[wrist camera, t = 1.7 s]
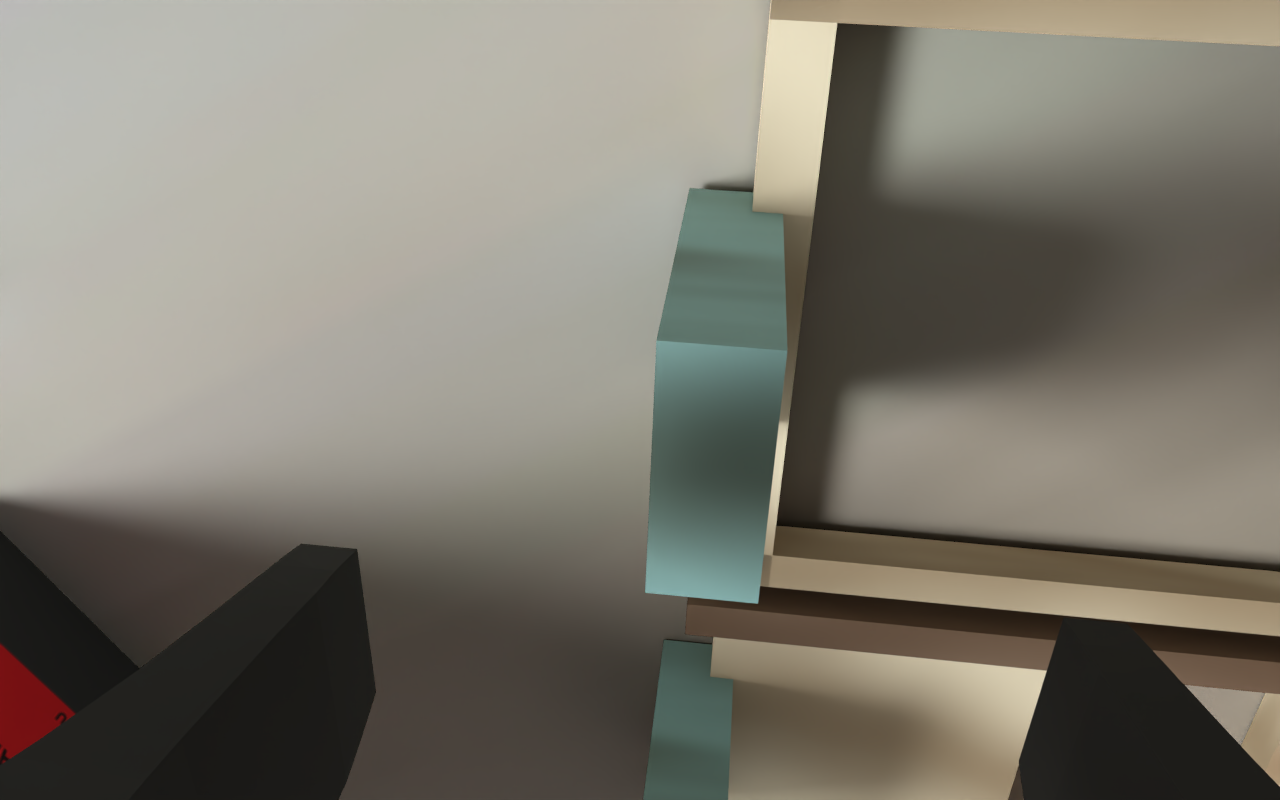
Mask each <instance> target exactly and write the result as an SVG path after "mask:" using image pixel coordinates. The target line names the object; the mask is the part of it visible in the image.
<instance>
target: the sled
mask: <svg viewBox="0 0 1280 800" xmlns="http://www.w3.org/2000/svg"><path fill="white" fill-rule="evenodd" d="M837 23H848V24H866V25H885V26H904V27H923V28H942V29H961V30H980V31H999V32H1018V33H1037V34H1055V35H1074V36H1093V37H1112V38H1131V39H1150V40H1169V41H1188V42H1207V43H1226V44H1245V45H1263V46H1280V0H771V2H770V13H769V24H768V35H767V46H766V57H765V69H764V80H763V91H762V102H761V113H760V124H759V135H758V146H757V157H756V168H755V180H754V191H753V192H740V191H724V190H709V189H694V188H690V189H689V194H688V199H687V203H686V208H685V212H684V217H683V222H682V226H681V231H680V235H679V240H678V244H677V249H676V254H675V258H674V263H673V267H672V272H671V277H670V281H669V286H668V290H667V295H666V300H665V304H664V309H663V313H662V318H661V323H660V327H659V332H658V336H657V342H656V365H655V387H654V409H653V431H652V453H651V475H650V498H649V520H648V542H647V564H646V586H645V593H653V594H664V595H674V596H684V597H694V598H704V599H715V600H725V601H735V602H745V603H755V604H758V600H759V591H760V586H764V587H775V588H785V589H795V590H806V591H816V592H826V593H837V594H847V595H857V596H868V597H878V598H888V599H899V600H909V601H919V602H930V603H940V604H950V605H961V606H971V607H981V608H992V609H1002V610H1012V611H1023V612H1033V613H1043V614H1054V615H1064V616H1074V617H1085V618H1095V619H1106V620H1116V621H1126V622H1137V623H1147V624H1157V625H1168V626H1178V627H1188V628H1199V629H1209V630H1219V631H1230V632H1240V633H1250V634H1261V635H1271V636H1280V572H1276V571H1266V570H1255V569H1244V568H1233V567H1222V566H1211V565H1200V564H1189V563H1178V562H1168V561H1157V560H1146V559H1135V558H1124V557H1113V556H1102V555H1091V554H1081V553H1070V552H1059V551H1048V550H1037V549H1026V548H1015V547H1004V546H993V545H983V544H972V543H961V542H950V541H939V540H928V539H917V538H906V537H896V536H885V535H874V534H863V533H852V532H841V531H830V530H819V529H808V528H798V527H787V526H776V522H777V514H778V506H779V498H780V489H781V481H782V473H783V465H784V457H785V448H786V440H787V432H788V424H789V415H790V407H791V399H792V391H793V383H794V374H795V366H796V358H797V350H798V342H799V333H800V325H801V317H802V309H803V300H804V292H805V284H806V276H807V268H808V259H809V251H810V243H811V235H812V227H813V218H814V210H815V202H816V194H817V185H818V177H819V169H820V161H821V153H822V144H823V136H824V128H825V120H826V112H827V103H828V95H829V87H830V79H831V71H832V62H833V54H834V46H835V38H836V29H837Z"/></svg>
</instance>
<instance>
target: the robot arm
mask: <svg viewBox="0 0 1280 800" xmlns="http://www.w3.org/2000/svg"><path fill="white" fill-rule="evenodd" d="M375 693H376V689H375V681H374V674H373V666H372V658H371V651H370V643H369V636H368V628H367V621H366V613H365V605H364V598H363V590H362V583H361V575H360V568H359V560H358V553H357V549H350V548H340V547H329V546H319V545H309V544H300V545H299V546H297V547H296V548H295V549H293V550H292V551H291V552H289V553H288V554H287V555H285V556H284V557H283V558H281V559H280V560H279V561H278V562H276V563H275V564H274V565H272V566H271V567H270V568H269V569H267V570H266V571H265V572H264V573H262V574H261V575H260V576H258V577H257V578H256V579H255V580H253V581H252V582H251V583H250V584H248V585H247V586H246V587H245V588H243V589H242V590H241V591H240V592H238V593H237V594H236V595H235V596H233V597H232V598H231V599H229V600H228V601H227V602H226V603H224V604H223V605H222V606H221V607H219V608H218V609H217V610H216V611H214V612H213V613H212V614H210V615H209V616H208V617H207V618H205V619H204V620H203V621H201V622H200V623H199V624H198V625H196V626H195V627H194V628H192V629H191V630H190V631H188V632H187V633H186V634H185V635H183V636H182V637H181V638H179V639H178V640H177V641H175V642H174V643H173V644H171V645H170V646H169V647H168V648H166V649H165V650H164V651H162V652H161V653H160V654H158V655H157V656H156V657H154V658H153V659H152V660H151V661H149V662H148V663H147V664H145V665H144V666H143V667H141V668H140V669H139V670H137V671H136V672H135V673H133V674H132V675H130V676H129V677H128V678H126V679H125V680H123V681H122V682H120V683H119V684H118V685H116V686H115V687H113V688H112V689H111V690H109V691H108V692H106V693H105V694H103V695H102V696H101V697H99V698H98V699H96V700H95V701H93V702H92V703H91V704H89V705H88V706H86V707H85V708H83V709H82V710H81V711H79V712H78V713H76V714H75V715H74V716H72V717H71V718H69V719H68V720H66V721H65V722H64V723H62V724H61V725H59V726H58V727H56V728H55V729H54V730H52V731H51V732H49V733H48V734H46V735H45V736H44V737H42V738H41V739H39V740H38V741H36V742H35V743H33V744H32V745H30V746H29V747H27V748H26V749H24V750H23V751H21V752H20V753H18V754H17V755H15V756H14V757H12V758H10V759H9V760H7V761H6V762H4V763H2V764H1V765H0V800H338V799H339V797H340V795H341V793H342V790H343V788H344V786H345V784H346V782H347V779H348V776H349V773H350V770H351V767H352V764H353V761H354V758H355V755H356V752H357V749H358V747H359V744H360V741H361V738H362V734H363V731H364V728H365V725H366V722H367V718H368V715H369V712H370V709H371V706H372V703H373V699H374V696H375ZM1019 768H1020V775H1021V782H1022V789H1023V796H1024V800H1280V786H1279V785H1278V784H1277V783H1276V782H1275V781H1274V780H1273V779H1272V778H1271V777H1270V776H1269V775H1268V774H1267V773H1266V772H1265V771H1264V770H1263V769H1262V768H1261V767H1260V766H1259V765H1258V764H1257V763H1256V762H1255V761H1254V759H1253V758H1252V757H1251V756H1250V755H1249V754H1248V753H1247V752H1246V751H1245V750H1244V749H1243V748H1242V747H1241V746H1240V745H1239V744H1238V742H1237V741H1236V740H1235V739H1234V738H1233V737H1232V736H1231V735H1230V734H1229V733H1228V732H1227V731H1226V730H1225V729H1224V727H1223V726H1222V725H1221V724H1220V723H1219V722H1218V721H1217V720H1216V719H1215V718H1214V717H1213V716H1212V715H1211V713H1210V712H1209V711H1208V710H1207V709H1206V708H1205V707H1204V706H1203V705H1202V704H1201V703H1200V702H1199V700H1198V699H1197V698H1196V697H1195V696H1194V695H1193V694H1192V693H1191V692H1190V691H1189V690H1188V688H1187V687H1186V686H1185V685H1184V684H1183V683H1182V682H1181V681H1180V680H1179V679H1178V678H1177V676H1176V675H1175V674H1174V673H1173V672H1172V671H1171V670H1170V669H1169V668H1168V667H1167V666H1166V664H1165V663H1164V662H1163V661H1162V660H1161V659H1160V658H1159V657H1158V656H1157V655H1156V654H1155V652H1154V651H1153V650H1152V649H1151V648H1150V647H1149V646H1148V645H1147V644H1146V643H1145V642H1144V641H1143V640H1142V639H1141V638H1140V636H1139V635H1138V634H1137V633H1136V632H1135V631H1134V630H1133V629H1132V628H1131V627H1130V626H1129V625H1128V624H1126V623H1115V622H1105V621H1095V620H1084V619H1074V618H1064V617H1063V620H1062V624H1061V627H1060V630H1059V633H1058V636H1057V640H1056V643H1055V646H1054V649H1053V652H1052V656H1051V659H1050V662H1049V665H1048V668H1047V672H1046V675H1045V678H1044V681H1043V685H1042V688H1041V691H1040V694H1039V697H1038V701H1037V704H1036V707H1035V710H1034V713H1033V717H1032V720H1031V723H1030V726H1029V729H1028V733H1027V736H1026V739H1025V742H1024V745H1023V749H1022V752H1021V755H1020V758H1019Z"/></svg>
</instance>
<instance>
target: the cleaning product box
mask: <svg viewBox="0 0 1280 800" xmlns="http://www.w3.org/2000/svg"><path fill="white" fill-rule="evenodd" d="M137 670H139V668H138V667H137V666H136V665H135V664H134V663H133V662H132V661H131V660H130V659H129V658H128V657H127V656H126V655H125V654H124V653H123V652H122V651H121V650H120V649H119V648H118V647H117V646H116V645H115V644H114V643H113V642H112V641H111V640H110V639H109V638H108V637H107V636H106V635H105V634H104V633H103V632H102V631H101V630H100V629H99V628H98V627H97V626H96V625H95V624H94V623H93V622H92V621H91V620H90V619H89V618H88V617H87V616H86V615H85V614H83V613H82V612H81V611H80V610H79V609H78V608H77V607H76V606H75V605H74V604H73V603H72V602H71V601H70V600H69V599H68V598H67V597H66V596H65V595H64V594H63V593H62V592H61V591H60V590H59V589H58V588H57V587H56V586H55V585H54V584H53V583H52V582H51V581H50V580H49V579H48V578H47V577H46V576H45V575H44V574H43V573H42V572H41V571H40V570H39V569H38V568H37V567H36V566H35V565H34V564H33V563H32V562H31V561H30V560H29V559H28V558H27V557H26V556H25V555H24V554H23V553H22V552H21V551H20V550H19V549H18V548H17V547H16V546H15V545H14V544H13V543H12V542H11V541H10V540H9V539H8V538H7V537H6V536H5V535H4V534H3V533H2V532H1V531H0V765H1V764H2V763H4V762H6V761H7V760H9V759H10V758H12V757H14V756H15V755H17V754H18V753H20V752H21V751H23V750H24V749H26V748H27V747H29V746H30V745H32V744H33V743H35V742H36V741H38V740H39V739H41V738H42V737H44V736H45V735H46V734H48V733H49V732H51V731H52V730H54V729H55V728H56V727H58V726H59V725H61V724H62V723H64V722H65V721H66V720H68V719H69V718H71V717H72V716H74V715H75V714H76V713H78V712H79V711H81V710H82V709H83V708H85V707H86V706H88V705H89V704H91V703H92V702H93V701H95V700H96V699H98V698H99V697H101V696H102V695H103V694H105V693H106V692H108V691H109V690H111V689H112V688H113V687H115V686H116V685H118V684H119V683H120V682H122V681H123V680H125V679H126V678H128V677H129V676H130V675H132V674H133V673H135V672H136V671H137Z"/></svg>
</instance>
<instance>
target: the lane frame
mask: <svg viewBox="0 0 1280 800" xmlns="http://www.w3.org/2000/svg"><path fill="white" fill-rule="evenodd" d="M1063 617H1064V618H1074V619H1084V620H1095V621H1105V622H1115V623H1126V624H1128V625H1129V626H1130V627H1131V628H1132V629H1133V630H1134V631H1135V632H1136V633H1137V634H1138V635H1139V636H1140V638H1141V639H1142V640H1143V641H1144V642H1145V643H1146V644H1147V645H1148V646H1149V647H1150V648H1151V649H1152V650H1153V651H1154V652H1155V654H1156V655H1157V656H1158V657H1159V658H1160V659H1161V660H1162V661H1163V662H1164V663H1165V664H1166V666H1167V667H1168V668H1169V669H1170V670H1171V671H1172V672H1173V673H1174V674H1175V675H1176V676H1177V678H1178V679H1179V680H1180V681H1181V682H1182V683H1183V684H1184V685H1193V686H1203V687H1213V688H1223V689H1233V690H1243V691H1252V692H1262V693H1265V695H1264V698H1263V700H1262V702H1261V704H1260V706H1259V708H1258V711H1257V713H1256V715H1255V717H1254V719H1253V721H1252V724H1251V726H1250V728H1249V730H1248V732H1247V734H1246V737H1245V739H1244V741H1243V743H1242V745H1241V747H1242V748H1243V749H1244V750H1245V751H1246V752H1247V753H1248V754H1249V755H1250V756H1251V757H1252V758H1253V759H1254V761H1255V762H1256V763H1257V764H1258V765H1259V766H1260V767H1261V768H1262V769H1263V770H1264V771H1265V772H1266V773H1267V774H1268V775H1269V776H1270V777H1271V778H1272V779H1273V780H1274V781H1275V782H1276V783H1277V784H1278V785H1279V786H1280V636H1271V635H1261V634H1250V633H1240V632H1230V631H1219V630H1209V629H1199V628H1188V627H1178V626H1168V625H1157V624H1147V623H1137V622H1126V621H1116V620H1106V619H1095V618H1085V617H1074V616H1064V615H1054V614H1043V613H1033V612H1023V611H1012V610H1002V609H992V608H981V607H971V606H961V605H950V604H940V603H930V602H919V601H909V600H899V599H888V598H878V597H868V596H857V595H847V594H837V593H826V592H816V591H806V590H795V589H785V588H775V587H764V586H760V591H759V600H758V604H755V603H745V602H735V601H725V600H715V599H704V598H694V597H688V601H687V613H686V627H685V634H688V635H698V636H708V637H713V644H712V645H711V644H701V643H691V642H681V641H671V640H664V643H663V651H662V658H661V666H660V674H659V681H658V689H657V697H656V705H655V712H654V720H653V728H652V735H651V743H650V751H649V759H648V766H647V774H646V782H645V789H644V797H643V800H1008V798H1009V795H1010V792H1011V788H1012V785H1013V782H1014V779H1015V775H1016V772H1017V769H1018V766H1019V758H1020V755H1021V752H1022V749H1023V745H1024V742H1025V739H1026V736H1027V733H1028V729H1029V726H1030V723H1031V720H1032V717H1033V713H1034V710H1035V707H1036V704H1037V701H1038V697H1039V694H1040V691H1041V688H1042V685H1043V681H1044V678H1045V675H1046V672H1047V668H1048V665H1049V662H1050V659H1051V656H1052V652H1053V649H1054V646H1055V643H1056V640H1057V636H1058V633H1059V630H1060V627H1061V624H1062V620H1063Z"/></svg>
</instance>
